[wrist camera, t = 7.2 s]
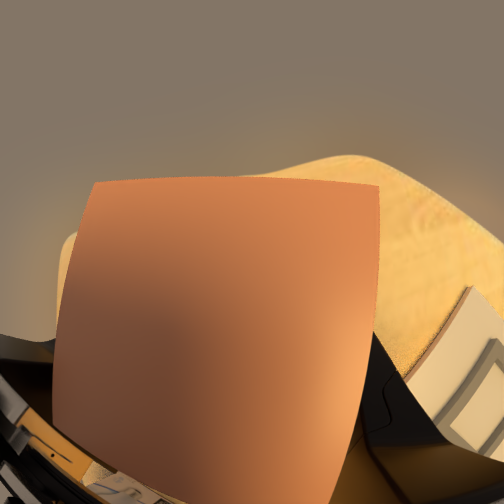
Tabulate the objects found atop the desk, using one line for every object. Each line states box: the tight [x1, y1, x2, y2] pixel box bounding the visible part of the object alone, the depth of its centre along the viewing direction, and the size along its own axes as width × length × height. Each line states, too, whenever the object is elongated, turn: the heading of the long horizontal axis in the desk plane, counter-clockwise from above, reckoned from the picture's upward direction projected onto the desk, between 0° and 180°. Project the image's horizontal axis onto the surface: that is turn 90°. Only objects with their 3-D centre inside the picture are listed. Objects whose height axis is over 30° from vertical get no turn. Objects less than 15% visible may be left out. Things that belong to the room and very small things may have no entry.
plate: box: [404, 286, 504, 462], centre depth 14 cm, size 19×19×2 cm
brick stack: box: [52, 177, 380, 504], centre depth 9 cm, size 5×5×12 cm
